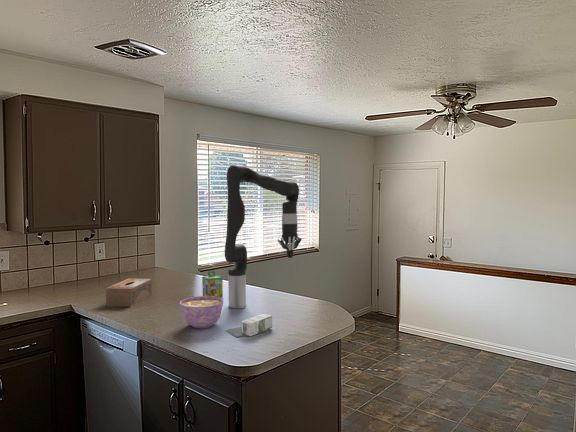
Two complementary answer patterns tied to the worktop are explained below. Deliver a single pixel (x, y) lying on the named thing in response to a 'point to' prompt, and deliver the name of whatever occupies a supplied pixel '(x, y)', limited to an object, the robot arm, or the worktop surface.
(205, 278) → the green juice carton
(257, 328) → the syrup box
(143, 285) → the tissue box cover
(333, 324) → the worktop surface
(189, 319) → the bowl of food
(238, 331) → the mat
